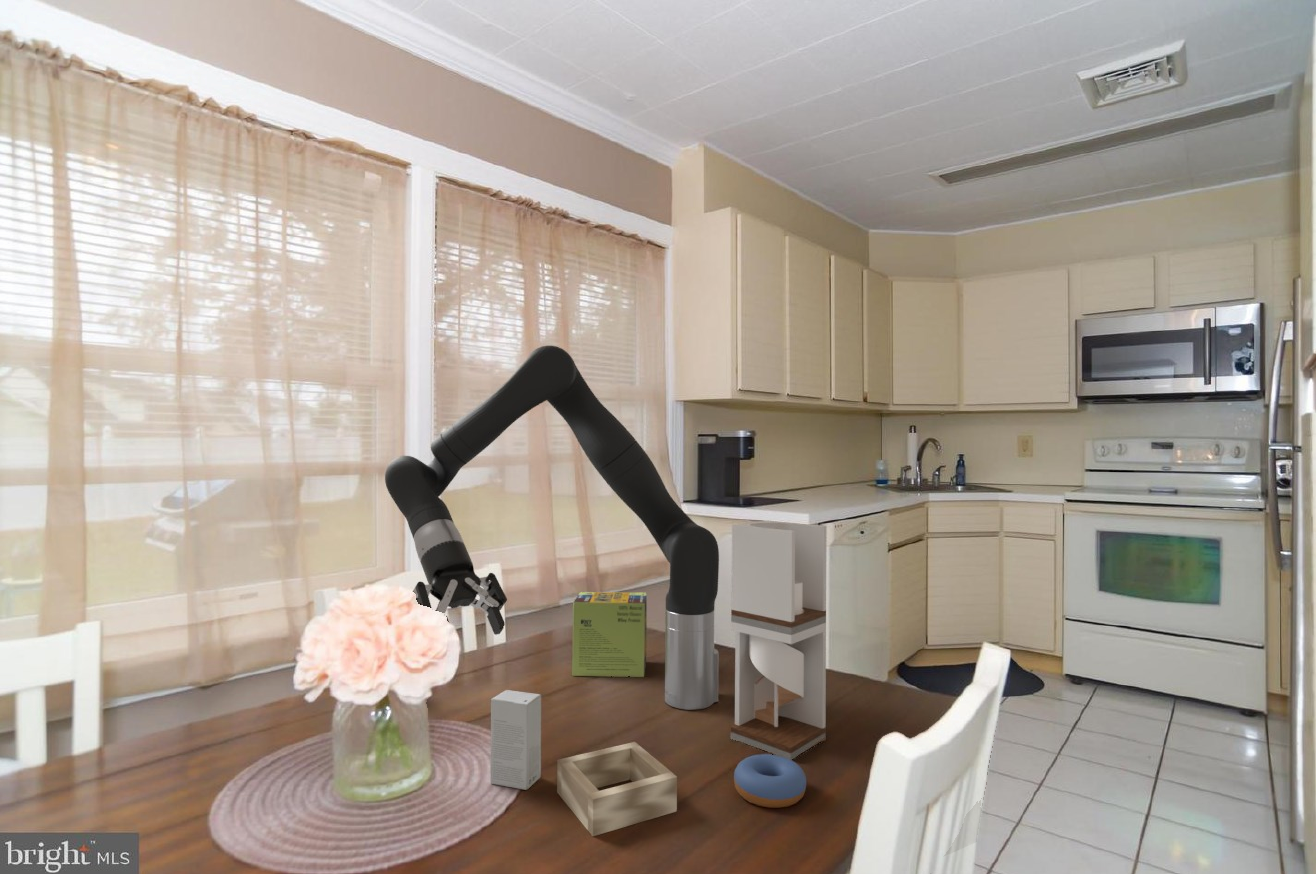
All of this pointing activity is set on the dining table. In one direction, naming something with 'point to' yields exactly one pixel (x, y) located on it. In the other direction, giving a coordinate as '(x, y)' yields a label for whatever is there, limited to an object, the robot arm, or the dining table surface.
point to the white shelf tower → (779, 635)
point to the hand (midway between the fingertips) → (475, 636)
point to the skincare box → (515, 739)
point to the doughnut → (770, 780)
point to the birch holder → (622, 803)
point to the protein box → (609, 634)
